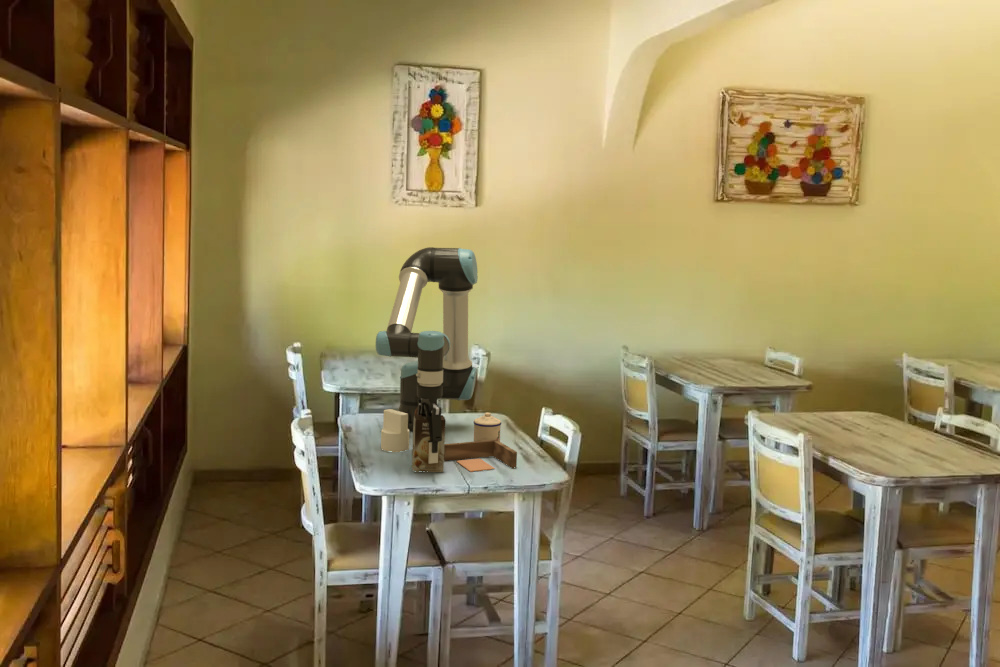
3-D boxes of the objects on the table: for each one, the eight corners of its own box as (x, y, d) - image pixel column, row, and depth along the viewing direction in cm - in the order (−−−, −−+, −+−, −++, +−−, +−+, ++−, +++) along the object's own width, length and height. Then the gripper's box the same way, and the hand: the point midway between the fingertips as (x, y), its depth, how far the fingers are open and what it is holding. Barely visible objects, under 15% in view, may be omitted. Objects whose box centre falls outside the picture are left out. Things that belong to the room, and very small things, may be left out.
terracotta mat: (456, 462, 273) (456, 460, 273) (480, 459, 276) (480, 458, 276) (470, 472, 263) (470, 470, 263) (494, 469, 266) (494, 468, 266)
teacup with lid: (502, 451, 286) (503, 416, 285) (474, 451, 285) (475, 416, 283) (496, 441, 298) (498, 407, 297) (470, 441, 297) (471, 407, 295)
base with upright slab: (414, 448, 286) (415, 412, 284) (393, 453, 279) (394, 416, 278) (396, 443, 292) (397, 407, 290) (375, 447, 285) (375, 411, 284)
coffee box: (413, 473, 260) (414, 419, 258) (411, 466, 266) (412, 414, 264) (444, 472, 262) (445, 419, 260) (441, 466, 268) (443, 414, 266)
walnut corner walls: (443, 459, 275) (443, 444, 274) (495, 454, 282) (496, 439, 282) (461, 473, 261) (462, 457, 261) (516, 467, 269) (517, 452, 268)
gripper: (406, 377, 268) (404, 450, 271) (430, 391, 250) (428, 469, 253) (429, 376, 271) (427, 448, 275) (455, 390, 253) (452, 467, 256)
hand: (428, 458), depth 264 cm, fingers open, 8 cm apart
